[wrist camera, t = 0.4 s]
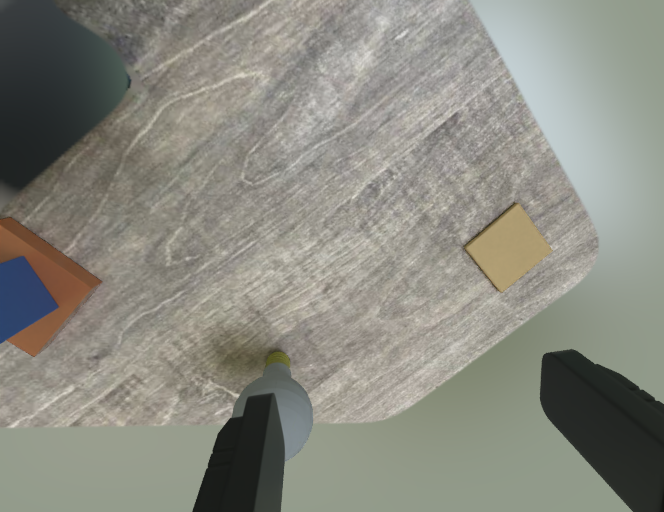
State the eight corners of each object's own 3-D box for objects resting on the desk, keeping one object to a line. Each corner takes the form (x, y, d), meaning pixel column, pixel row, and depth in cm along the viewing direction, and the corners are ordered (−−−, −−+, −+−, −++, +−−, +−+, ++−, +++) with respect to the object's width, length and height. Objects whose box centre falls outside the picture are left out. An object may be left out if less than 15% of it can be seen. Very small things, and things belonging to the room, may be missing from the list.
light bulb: (255, 390, 31) (236, 494, 21) (240, 338, 30) (212, 423, 20) (314, 378, 31) (322, 475, 22) (302, 325, 30) (305, 404, 20)
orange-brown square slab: (-46, 289, 26) (-66, 297, 25) (10, 216, 25) (-7, 220, 24) (47, 347, 28) (33, 357, 27) (102, 281, 27) (91, 288, 26)
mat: (463, 247, 29) (465, 248, 29) (516, 202, 29) (519, 203, 28) (499, 291, 31) (501, 293, 30) (550, 249, 30) (553, 250, 30)
